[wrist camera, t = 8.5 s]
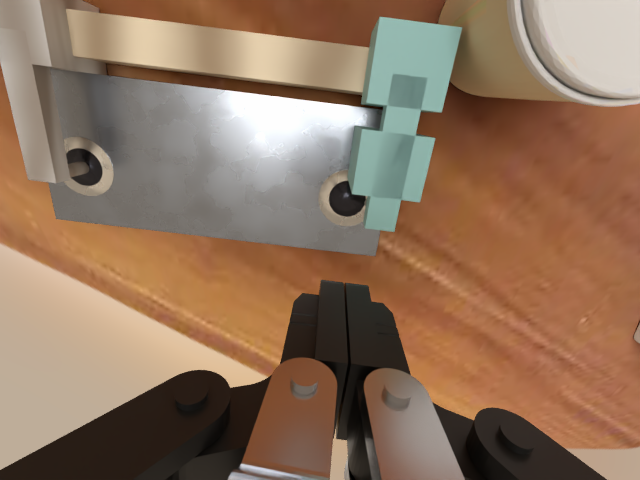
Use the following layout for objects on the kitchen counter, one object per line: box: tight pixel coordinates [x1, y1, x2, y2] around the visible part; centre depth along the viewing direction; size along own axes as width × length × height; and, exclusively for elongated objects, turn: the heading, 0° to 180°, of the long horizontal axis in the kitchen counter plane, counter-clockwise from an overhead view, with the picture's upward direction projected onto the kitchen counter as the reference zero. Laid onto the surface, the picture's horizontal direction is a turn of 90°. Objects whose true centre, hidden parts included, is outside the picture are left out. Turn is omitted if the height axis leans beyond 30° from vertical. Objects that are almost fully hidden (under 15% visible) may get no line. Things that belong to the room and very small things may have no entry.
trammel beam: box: [0, 0, 369, 183], centre depth 21 cm, size 26×11×5 cm, turn 83°
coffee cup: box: [438, 0, 640, 107], centre depth 15 cm, size 9×9×12 cm
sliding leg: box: [347, 17, 462, 232], centre depth 19 cm, size 4×11×5 cm, turn 173°
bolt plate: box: [49, 68, 383, 256], centre depth 24 cm, size 26×11×1 cm, turn 83°
